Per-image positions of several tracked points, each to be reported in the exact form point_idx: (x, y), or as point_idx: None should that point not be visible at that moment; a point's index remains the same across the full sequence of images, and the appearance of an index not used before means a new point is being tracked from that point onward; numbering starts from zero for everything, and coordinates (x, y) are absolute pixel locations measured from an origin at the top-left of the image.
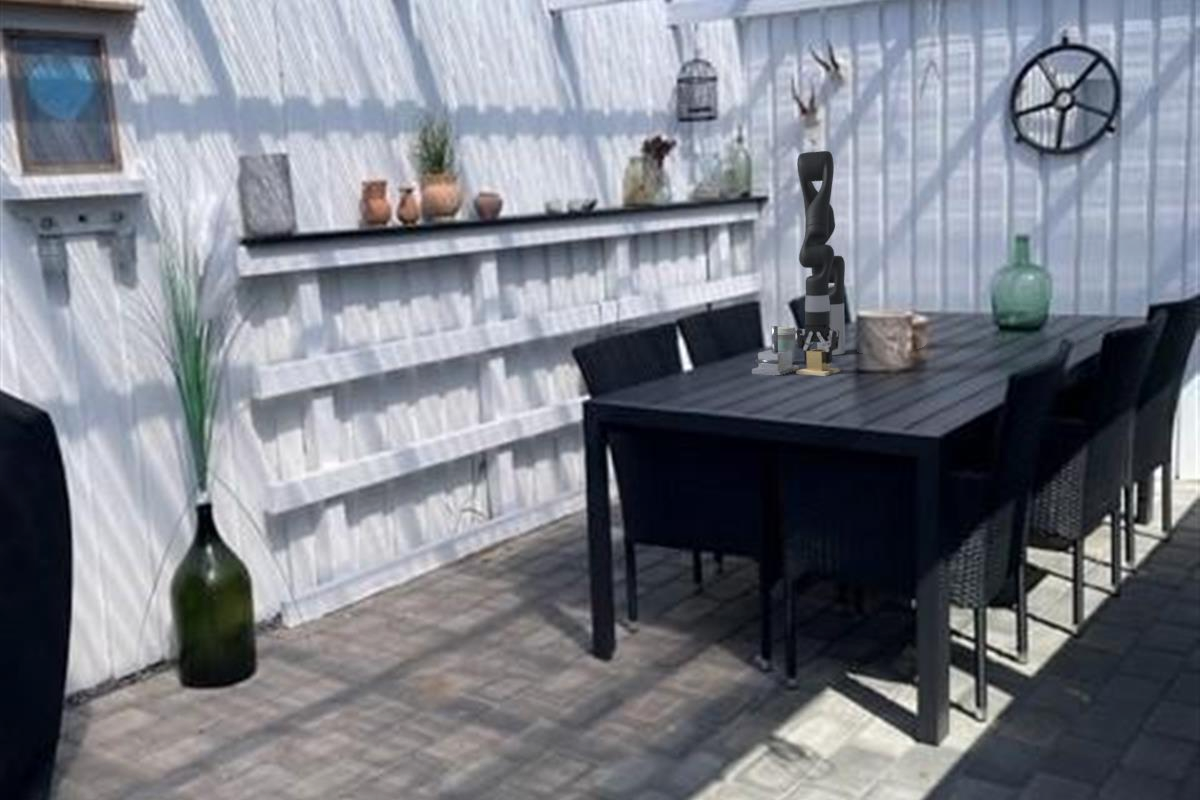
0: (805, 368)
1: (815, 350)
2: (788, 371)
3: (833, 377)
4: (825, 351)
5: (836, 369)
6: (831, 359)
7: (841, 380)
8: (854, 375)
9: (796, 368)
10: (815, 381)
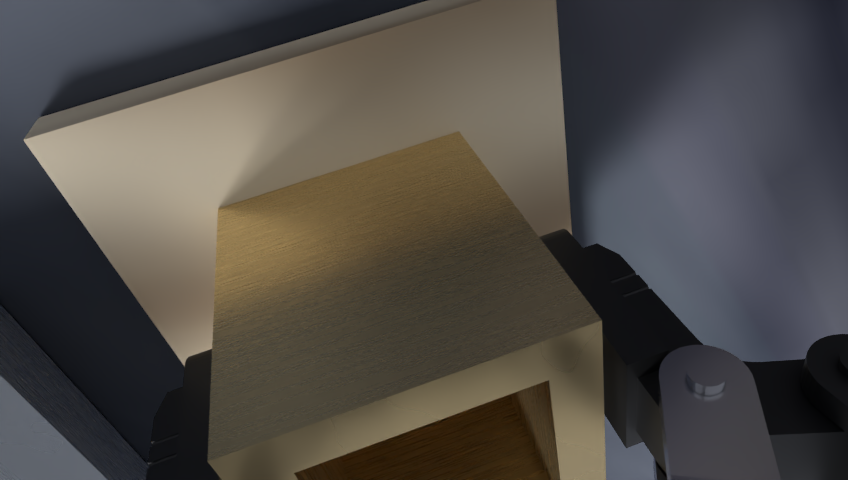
0: (176, 322)
1: (291, 452)
2: (135, 470)
3: (663, 299)
4: (596, 421)
5: (561, 97)
6: (623, 276)
7: (774, 332)
8: (812, 99)
9: (17, 354)
10: (619, 458)
